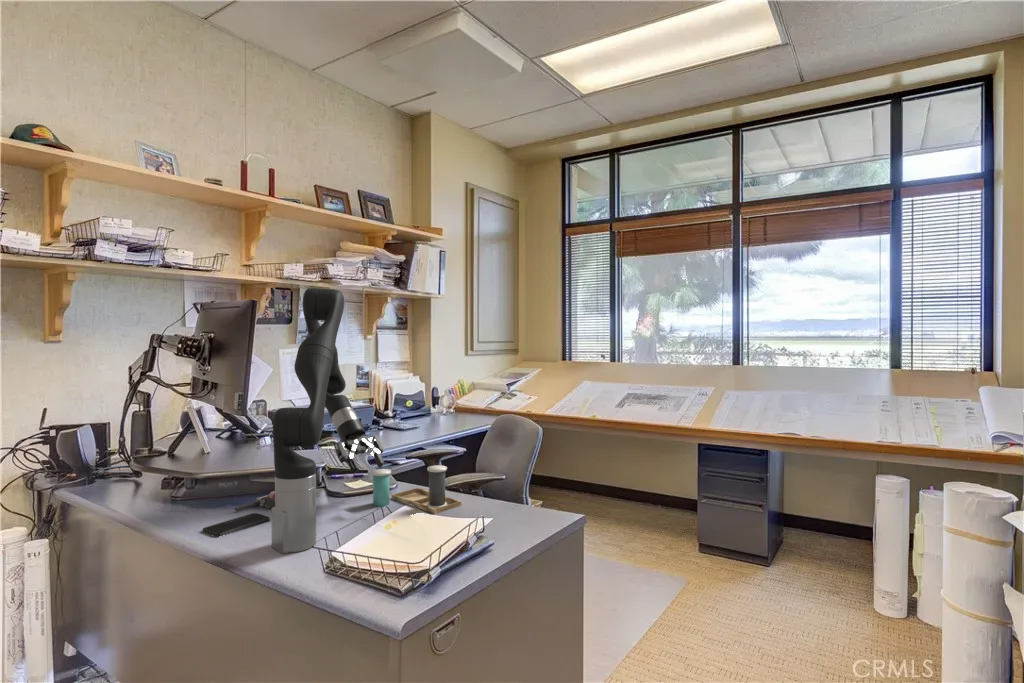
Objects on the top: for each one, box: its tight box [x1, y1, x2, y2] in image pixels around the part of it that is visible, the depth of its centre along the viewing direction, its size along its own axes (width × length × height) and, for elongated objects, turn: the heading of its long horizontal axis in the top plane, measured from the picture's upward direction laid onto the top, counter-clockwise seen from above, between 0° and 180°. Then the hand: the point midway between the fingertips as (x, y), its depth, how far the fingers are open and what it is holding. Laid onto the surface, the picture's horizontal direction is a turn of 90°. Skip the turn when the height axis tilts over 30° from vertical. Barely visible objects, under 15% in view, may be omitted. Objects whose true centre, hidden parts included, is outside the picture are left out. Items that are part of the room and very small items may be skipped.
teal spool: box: [370, 468, 392, 508], centre depth 163 cm, size 6×6×11 cm
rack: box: [390, 487, 463, 515], centre depth 166 cm, size 20×10×3 cm, turn 48°
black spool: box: [426, 464, 448, 509], centre depth 162 cm, size 6×6×11 cm
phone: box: [202, 512, 271, 538], centre depth 149 cm, size 8×1×15 cm
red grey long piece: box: [233, 490, 275, 512], centre depth 166 cm, size 9×4×20 cm
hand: (369, 468), depth 167 cm, fingers open, 8 cm apart
